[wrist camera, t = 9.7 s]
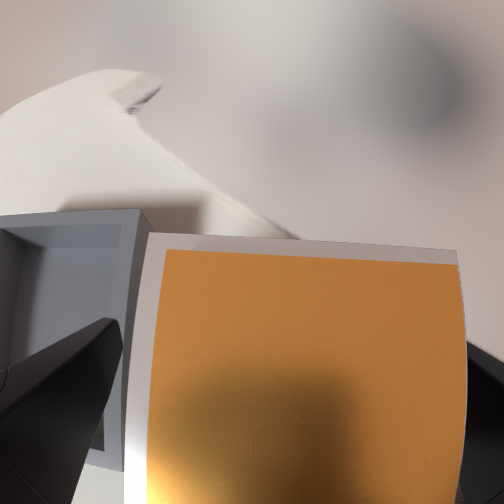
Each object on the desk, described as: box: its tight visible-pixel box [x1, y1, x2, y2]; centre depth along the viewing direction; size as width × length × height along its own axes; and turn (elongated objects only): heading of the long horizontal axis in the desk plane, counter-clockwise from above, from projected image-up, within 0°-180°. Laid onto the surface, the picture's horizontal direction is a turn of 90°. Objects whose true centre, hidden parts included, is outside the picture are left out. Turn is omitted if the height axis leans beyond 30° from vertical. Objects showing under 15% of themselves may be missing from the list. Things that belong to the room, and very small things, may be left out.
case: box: [0, 208, 154, 472], centre depth 14 cm, size 12×10×4 cm
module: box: [125, 232, 467, 504], centre depth 9 cm, size 5×5×13 cm
